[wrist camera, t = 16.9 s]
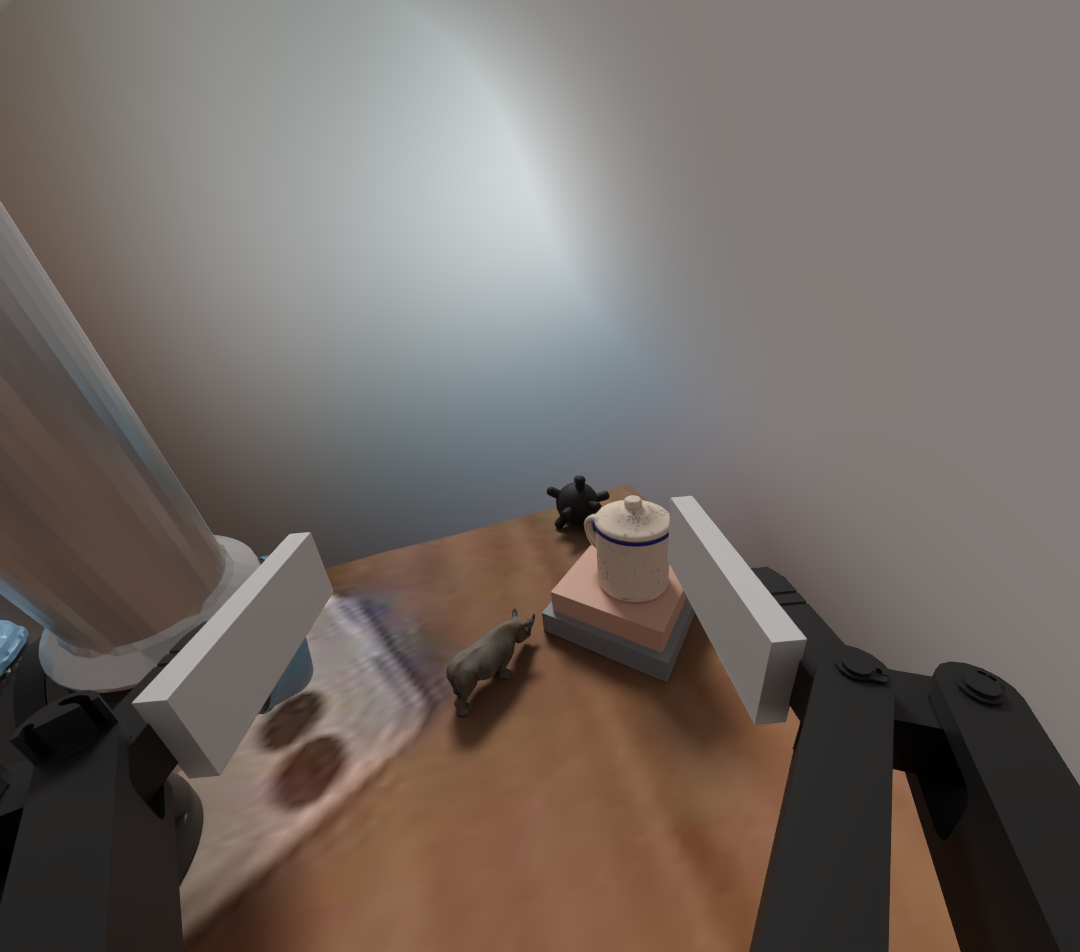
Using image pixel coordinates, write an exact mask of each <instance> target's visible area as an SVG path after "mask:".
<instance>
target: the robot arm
mask: <svg viewBox="0 0 1080 952" xmlns="http://www.w3.org/2000/svg"><path fill="white" fill-rule="evenodd" d="M667 560H668V562H669V564H670V566H671V568H672V570H673V571H674V573H675V575H676V577H677V579H678V581H679V583H680V585H681V587H682V588H683V590H684V592H685V594H686V596H687V598H688V600H689V602H690V604H691V606H692V607H693V609H694V611H695V613H696V615H697V617H698V619H699V621H700V623H701V625H702V626H703V628H704V630H705V632H706V634H707V636H708V638H709V640H710V642H711V643H712V645H713V647H714V649H715V651H716V653H717V655H718V657H719V659H720V661H721V662H722V664H723V666H724V668H725V670H726V672H727V674H728V676H729V678H730V680H731V681H732V683H733V685H734V687H735V689H736V691H737V693H738V695H739V697H740V698H741V700H742V702H743V704H744V706H745V708H746V710H747V712H748V714H749V716H750V717H751V719H752V721H753V723H754V725H759V724H770V723H780V722H786V719H787V715H788V711H789V707H790V706H791V708H792V709H793V711H794V713H795V714H796V716H797V717H798V719H799V720H800V725H799V729H798V732H797V736H796V739H795V743H794V746H793V750H794V751H793V756H792V760H791V765H790V769H789V774H788V778H787V783H786V787H785V792H784V796H783V801H782V806H781V810H780V815H779V819H778V824H777V828H776V833H775V837H774V842H773V846H772V851H771V855H770V860H769V864H768V869H767V874H766V878H765V883H764V887H763V892H762V896H761V901H760V905H759V910H758V914H757V919H756V923H755V928H754V932H753V937H752V942H751V946H750V951H749V952H888V949H889V905H890V861H891V817H892V773H893V769H896V770H900V771H904V772H905V774H906V777H907V780H908V783H909V786H910V790H911V793H912V796H913V799H914V803H915V806H916V809H917V812H918V816H919V819H920V822H921V825H922V828H923V832H924V835H925V838H926V841H927V845H928V848H929V851H930V854H931V857H932V861H933V864H934V867H935V870H936V874H937V877H938V880H939V883H940V886H941V890H942V893H943V896H944V899H945V903H946V906H947V909H948V912H949V916H950V919H951V922H952V925H953V928H954V932H955V935H956V938H957V941H958V945H959V948H960V951H961V952H1080V786H1079V784H1078V783H1077V781H1076V779H1075V778H1074V776H1073V775H1072V773H1071V772H1070V770H1069V768H1068V767H1067V765H1066V764H1065V762H1064V761H1063V759H1062V757H1061V756H1060V754H1059V753H1058V751H1057V750H1056V748H1055V746H1054V745H1053V743H1052V742H1051V740H1050V739H1049V737H1048V735H1047V734H1046V732H1045V731H1044V729H1043V728H1042V726H1041V724H1040V723H1039V721H1038V720H1037V718H1036V717H1035V715H1034V714H1033V712H1032V711H1031V709H1030V707H1029V706H1028V704H1027V703H1026V701H1025V699H1024V698H1023V697H1022V696H1021V695H1020V694H1019V693H1018V692H1017V691H1016V689H1015V688H1014V687H1012V686H1011V685H1010V684H1008V683H1007V682H1005V681H1004V680H1002V679H1001V678H1000V677H998V676H996V675H994V674H992V673H990V672H988V671H986V670H984V669H982V668H979V667H976V666H973V665H969V664H966V663H959V662H947V663H942V664H940V665H939V666H938V667H937V668H936V670H935V672H934V674H933V676H932V677H930V676H925V675H918V674H913V673H907V672H901V671H895V670H891V669H887V667H886V666H885V665H884V664H883V663H882V662H881V661H879V660H878V659H877V658H875V657H874V656H872V655H871V654H869V653H867V652H865V651H863V650H860V649H858V648H855V647H851V646H846V645H845V644H844V643H843V642H842V641H841V640H840V639H839V638H838V636H837V635H836V634H835V633H834V632H833V631H832V630H831V628H829V626H828V625H827V624H826V623H825V622H824V621H823V620H822V618H821V617H820V616H819V615H818V614H817V613H816V612H815V611H814V610H813V608H812V607H811V606H810V605H809V604H806V601H805V600H804V598H803V597H802V596H801V595H800V594H799V593H797V592H796V589H794V587H793V586H792V585H791V584H790V583H789V582H788V581H787V580H786V578H785V577H783V576H781V575H780V574H778V573H777V572H775V571H773V570H772V569H770V568H768V567H761V568H749V566H748V565H747V564H746V563H745V562H744V560H743V559H742V558H741V556H740V555H739V554H738V553H737V551H736V550H735V549H734V548H733V546H732V545H731V544H730V543H729V542H728V540H727V539H726V538H725V536H724V535H723V534H722V533H721V531H720V530H719V529H718V528H717V526H716V525H715V524H714V523H713V522H712V520H711V519H710V518H709V517H708V515H707V514H706V513H705V512H704V510H703V509H702V508H701V507H700V505H699V504H698V503H697V502H696V500H695V499H694V498H693V497H692V496H684V497H675V498H671V504H670V521H669V539H668V557H667ZM332 593H333V589H332V587H331V584H330V581H329V579H328V576H327V574H326V571H325V568H324V566H323V563H322V561H321V558H320V555H319V553H318V550H317V548H316V545H315V542H314V540H313V537H312V535H311V532H307V533H297V534H289V535H288V537H287V538H286V539H285V540H284V541H283V542H282V543H281V544H280V545H279V546H278V547H277V548H276V549H275V550H274V551H273V553H272V554H271V555H270V556H263V557H261V558H259V559H258V558H257V556H256V555H255V554H254V553H253V551H252V550H251V549H250V548H249V547H248V546H246V545H245V544H244V543H242V542H240V541H237V540H235V539H232V538H229V537H224V536H219V535H213V534H212V533H211V531H210V530H209V528H208V526H207V525H206V523H205V522H204V520H203V518H202V517H201V515H200V514H199V512H198V511H197V509H196V507H195V506H194V504H193V503H192V501H191V500H190V498H189V496H188V495H187V494H186V492H185V490H184V489H183V487H182V485H181V484H180V482H179V481H178V479H177V478H176V476H175V474H174V473H173V471H172V470H171V468H170V467H169V465H168V463H167V462H166V461H165V459H164V457H163V456H162V454H161V452H160V451H159V449H158V448H157V446H156V445H155V443H154V441H153V440H152V438H151V437H150V435H149V434H148V432H147V431H146V429H145V428H144V426H143V424H142V423H141V421H140V420H139V418H138V416H137V415H136V413H135V412H134V410H133V408H132V407H131V405H130V404H129V402H128V401H127V399H126V398H125V396H124V394H123V393H122V391H121V390H120V388H119V387H118V385H117V383H116V382H115V380H114V379H113V377H112V376H111V374H110V372H109V371H108V369H107V368H106V366H105V365H104V363H103V361H102V360H101V358H100V357H99V355H98V354H97V352H96V351H95V349H94V347H93V346H92V344H91V343H90V341H89V339H88V338H87V336H86V335H85V333H84V332H83V330H82V328H81V327H80V325H79V324H78V322H77V321H76V319H75V317H74V316H73V314H72V313H71V311H70V310H69V308H68V306H67V305H66V303H65V302H64V300H63V299H62V297H61V296H60V294H59V292H58V291H57V289H56V288H55V286H54V285H53V283H52V281H51V280H50V278H49V277H48V275H47V273H46V272H45V270H44V269H43V267H42V266H41V264H40V263H39V261H38V259H37V258H36V256H35V255H34V253H33V251H32V250H31V248H30V247H29V245H28V244H27V242H26V240H25V239H24V237H23V236H22V234H21V233H20V231H19V229H18V228H17V226H16V225H15V223H14V222H13V220H12V219H11V217H10V215H9V214H8V212H7V211H6V209H5V207H4V206H3V204H2V203H1V201H0V594H1V595H2V596H4V597H5V598H7V599H8V600H9V601H10V602H12V603H13V604H14V605H16V606H17V607H19V608H20V609H21V610H22V611H24V612H25V613H26V614H28V615H29V616H30V617H32V618H33V619H34V620H36V621H37V622H38V623H40V624H41V625H42V626H44V627H45V630H44V632H43V634H42V635H41V636H38V637H35V638H29V637H28V632H27V630H26V628H24V627H23V626H17V625H15V624H14V623H13V622H10V621H4V620H0V952H183V937H182V922H181V907H180V892H179V883H180V881H181V879H182V878H183V876H184V874H185V872H186V870H187V868H188V866H189V864H190V862H191V860H192V858H193V856H194V853H195V851H196V848H197V846H198V842H199V839H200V836H201V832H202V826H203V807H202V803H201V800H200V798H199V796H198V795H197V793H196V792H195V791H194V790H193V788H192V787H191V786H190V784H189V783H188V782H187V781H186V780H185V779H184V778H183V777H181V776H180V775H178V774H176V773H173V772H172V770H173V769H174V768H175V767H176V765H177V764H178V765H179V766H180V767H181V769H182V770H183V771H184V773H185V774H186V775H187V777H188V778H198V777H208V776H219V775H221V773H222V771H223V770H224V768H225V766H226V765H227V763H228V762H229V760H230V758H231V757H232V755H233V754H234V752H235V750H236V749H237V747H238V745H239V744H240V742H241V741H242V739H243V737H244V736H245V734H246V732H247V731H248V729H249V728H250V726H251V724H252V723H253V721H254V720H255V718H256V716H257V715H258V714H260V713H261V714H265V713H267V712H269V711H271V710H272V709H273V708H274V706H275V705H277V704H279V703H281V702H283V701H284V700H286V699H288V698H290V697H292V696H294V695H295V694H297V693H299V692H300V691H302V690H303V689H304V688H305V687H306V686H307V685H308V684H309V682H310V680H311V678H312V675H313V664H312V659H311V655H310V651H309V647H308V643H307V639H306V635H307V634H308V632H309V630H310V629H311V627H312V626H313V624H314V622H315V621H316V619H317V617H318V616H319V614H320V613H321V611H322V609H323V608H324V606H325V604H326V603H327V601H328V600H329V598H330V596H331V595H332Z"/></svg>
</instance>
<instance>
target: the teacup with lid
mask: <svg viewBox="0 0 1080 952" xmlns="http://www.w3.org/2000/svg"><path fill="white" fill-rule="evenodd" d="M593 521H594V528H595V530H596V535H595V533H594V530H593V525H592V522H593ZM669 521H670V514H669V513H668V512H667V511H666V510H665V509H664V508H662V507H661V506H658V505H656V504H654V503H651V502H647V501H642V500H641V498H640V497H638V496H633V495H632V496H628V497H626V498H625V500H621V501H616V502H612V503H610V504H607V505H605V506H604V507H602V508H601V509H600V510H599V511H598V512H597V514H592V515H590V516H588V517H587V518H586V519H585V522H584V529H585V533H586V536H587V538H588V540H589V541H590V543H591V544H592V545H593V546H594V547H595V548H596V549H597V577H598V582H599V584H600V586H601V588H602V589H603V590H604V591H605V592H606V593H607V594H608V595H610V596H612V597H614V598H616V599H618V600H621V601H625V602H633V603H639V602H646V601H650V600H653V599H655V598H657V597H659V596H660V595H661V594H662V593H663V592H664V591H665V590H666V588H667V585H668V576H669V562H668V560H667V557H668V539H669Z"/></svg>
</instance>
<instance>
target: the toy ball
mask: <svg viewBox="0 0 1080 952" xmlns="http://www.w3.org/2000/svg"><path fill="white" fill-rule="evenodd" d="M547 494H548V495H550V496H552V497H554V498H556V505H557V510H558V512H559V514H560V517H559V518H558V519H557V520H556V521H555V526H556V527H557V528H559V529H560V528H562V527H563V526H564V525H565V524H566V522H569V523H573V524H582V523H584V522H585V519H586V518H587V517H588V516H590V515H592V514H596V512H597V511H599V510H600V509H601V504H600V503H599V502H600V501H604V500H607V499H609V493H608V492H607V491H604V492H600V493H597V494H596V492H595V491H594V490H593V489H592V488H591V487H590V486H589V485H587V484H585V478H584V477H583V476H576V477H575V478H574V483H570V484H568V485H566V486H565V487H563V488H562V489H561V491H560V490H558V489H556V488H554V487H549V488H548V489H547ZM592 525H593V530H594V532H595V531H596V530H595V528H594V522H592Z"/></svg>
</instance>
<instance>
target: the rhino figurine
mask: <svg viewBox="0 0 1080 952" xmlns="http://www.w3.org/2000/svg"><path fill="white" fill-rule="evenodd" d="M534 619H535V614H533V615H532V618H531V619H527V620H526V621H524V622H523V621H522V620H521V619H519V618H518V617H517V611H516V609H515V608H514V609H513V611H512V620H510V621H507V622H504V623H502V624H500V625H498V626H496V627H495V628H493V629H491V630H490V631H488V632H487V633H486V634H485V635H484V636H483V637H482V638H481V639H479V640H478V641H476V642H475V643H473V644H472V645H471V646H469V647H468V648H467V649H465V650H463V651H461V652H459V653H458V654H456V655H455V656H454V657H453V658H452V660H451V661H450V663H449V665H448V667H447V678H448V680H449V682H450V683H451V685H452V687H453V691H454V693H455V694H456V695H458V697H457V699H456V700H455V702H454V704H455V706H456V707H457V709H456V714H457V715H458V716H466V715H468V714H469V712H470V710H471V706H470V705H469V704H467V703H466V701H467V699H468V697H469V696H470V694H471V693H472V691H473V690H474V688H475V687H476V685H477V681H479V680H486V679H489V678H491V677H492V676H493V675H494V674H495V673H496V672H497V670H498V677H500V678H504V679H508V678H509V675H510V674H511V671H510V670H509V669H506V666H507V664H508V663H509V661H510V659H511V658H512V655H513V653H514V646H515V642H517V643H521V642H523V641H524V640H526V639H527V638H529V636H530V635H531V633H530V631H531V628H532V625H533V623H534Z"/></svg>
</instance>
